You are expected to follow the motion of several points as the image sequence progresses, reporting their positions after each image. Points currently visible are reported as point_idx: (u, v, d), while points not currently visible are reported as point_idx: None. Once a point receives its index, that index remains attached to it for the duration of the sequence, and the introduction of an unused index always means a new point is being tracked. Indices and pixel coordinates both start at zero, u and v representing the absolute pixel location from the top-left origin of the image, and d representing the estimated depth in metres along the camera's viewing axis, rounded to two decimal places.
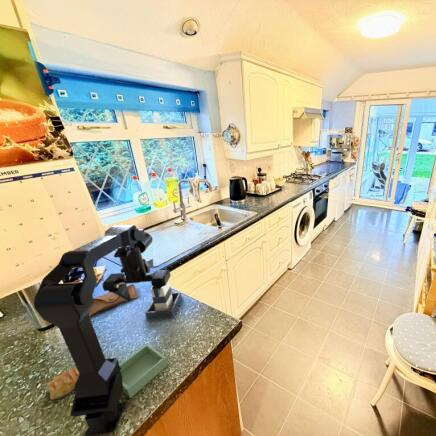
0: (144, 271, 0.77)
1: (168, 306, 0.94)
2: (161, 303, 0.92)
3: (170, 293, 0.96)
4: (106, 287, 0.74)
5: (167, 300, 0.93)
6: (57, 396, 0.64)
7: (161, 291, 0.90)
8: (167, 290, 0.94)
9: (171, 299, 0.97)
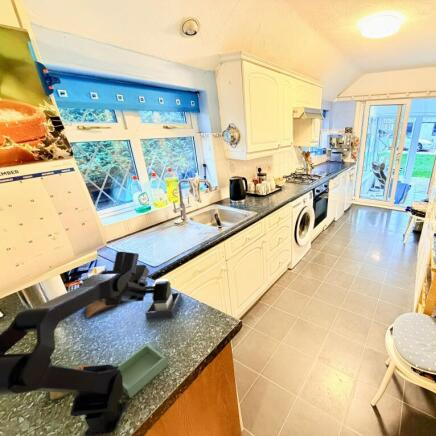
0: (142, 291, 0.74)
1: (168, 306, 0.94)
2: (161, 303, 0.92)
3: (170, 293, 0.96)
4: None
5: (167, 300, 0.93)
6: (57, 396, 0.64)
7: None
8: None
9: (171, 299, 0.97)
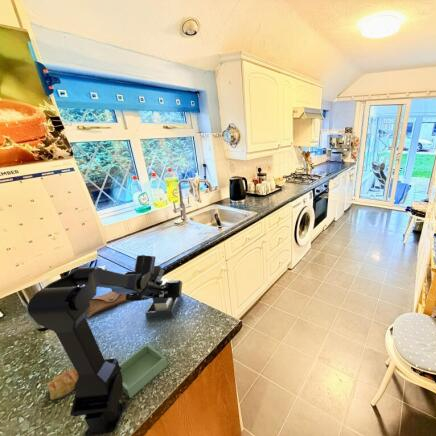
0: (158, 289, 0.85)
1: (167, 306, 0.94)
2: (161, 303, 0.92)
3: None
4: (129, 300, 0.85)
5: (167, 300, 0.93)
6: (57, 396, 0.64)
7: (161, 291, 0.90)
8: None
9: (171, 299, 0.97)
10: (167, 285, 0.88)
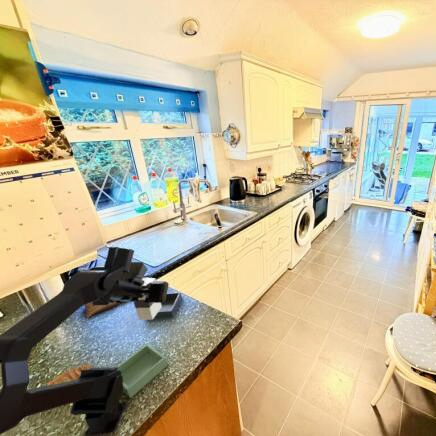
0: (137, 291, 0.68)
1: (152, 312, 0.77)
2: (144, 307, 0.75)
3: None
4: None
5: (151, 304, 0.76)
6: None
7: None
8: None
9: (158, 303, 0.80)
10: (150, 286, 0.71)
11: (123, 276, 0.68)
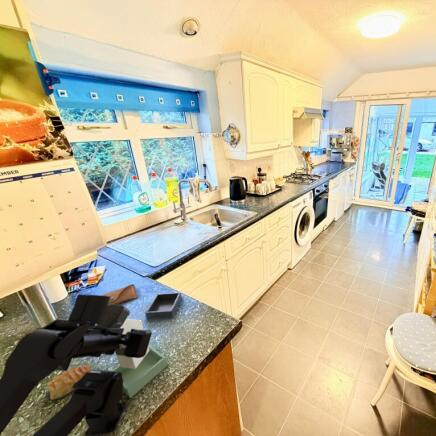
0: (112, 343, 0.57)
1: (135, 361, 0.66)
2: None
3: None
4: None
5: None
6: (57, 396, 0.64)
7: None
8: None
9: None
10: (129, 336, 0.60)
11: (98, 324, 0.58)
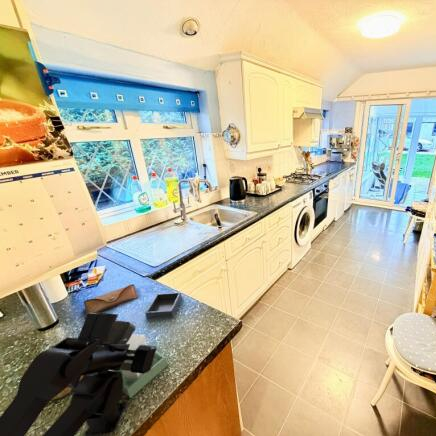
0: (119, 359, 0.59)
1: (139, 375, 0.68)
2: (130, 370, 0.66)
3: None
4: None
5: None
6: (57, 396, 0.64)
7: None
8: None
9: None
10: None
11: None
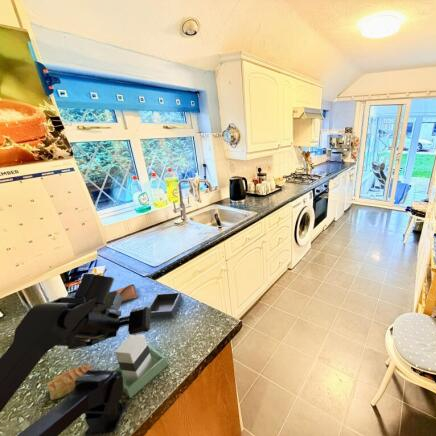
0: (114, 323, 0.58)
1: (139, 375, 0.68)
2: (130, 370, 0.66)
3: (147, 354, 0.71)
4: (73, 348, 0.58)
5: (138, 367, 0.67)
6: (57, 396, 0.64)
7: (128, 357, 0.64)
8: (140, 352, 0.68)
9: (148, 361, 0.71)
10: None
11: (94, 310, 0.59)
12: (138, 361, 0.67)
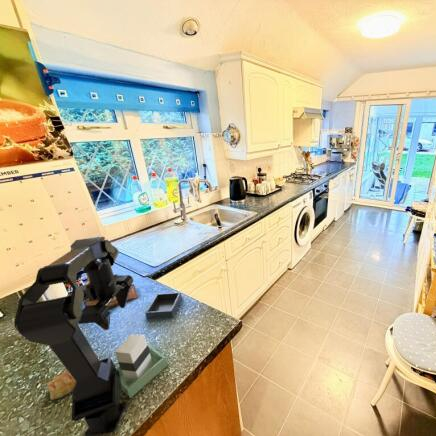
0: None
1: (139, 375, 0.68)
2: (130, 370, 0.66)
3: (147, 354, 0.71)
4: (103, 314, 0.65)
5: (138, 367, 0.67)
6: (57, 396, 0.64)
7: (128, 357, 0.64)
8: (140, 352, 0.68)
9: (148, 361, 0.71)
10: None
11: (86, 289, 0.68)
12: (138, 361, 0.67)
